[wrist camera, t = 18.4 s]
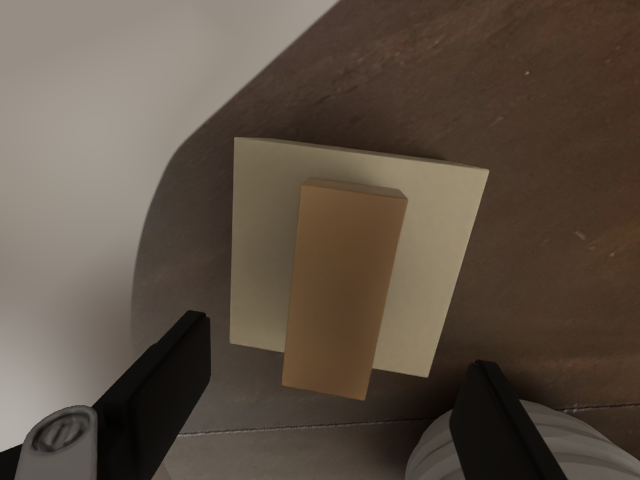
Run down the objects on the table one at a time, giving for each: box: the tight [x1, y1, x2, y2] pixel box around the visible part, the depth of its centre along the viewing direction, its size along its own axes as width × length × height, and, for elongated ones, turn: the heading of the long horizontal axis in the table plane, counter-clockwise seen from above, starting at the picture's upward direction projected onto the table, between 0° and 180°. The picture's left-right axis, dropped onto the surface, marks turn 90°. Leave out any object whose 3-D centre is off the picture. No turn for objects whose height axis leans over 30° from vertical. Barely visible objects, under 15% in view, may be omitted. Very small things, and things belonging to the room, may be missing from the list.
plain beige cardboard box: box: [230, 137, 489, 378], centre depth 24 cm, size 16×15×8 cm
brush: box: [281, 177, 408, 400], centre depth 18 cm, size 5×12×4 cm, turn 173°
